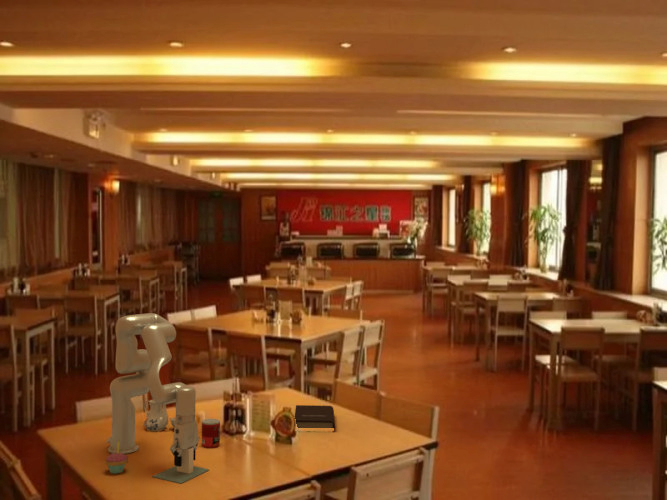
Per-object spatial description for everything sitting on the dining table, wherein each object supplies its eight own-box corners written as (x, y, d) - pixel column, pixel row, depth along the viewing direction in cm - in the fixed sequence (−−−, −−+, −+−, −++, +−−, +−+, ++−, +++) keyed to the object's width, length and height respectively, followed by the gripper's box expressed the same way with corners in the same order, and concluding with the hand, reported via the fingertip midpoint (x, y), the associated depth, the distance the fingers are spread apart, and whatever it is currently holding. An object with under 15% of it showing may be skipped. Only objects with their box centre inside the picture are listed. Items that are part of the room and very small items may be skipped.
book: (334, 433, 335) (335, 420, 335) (293, 432, 334) (294, 420, 334) (333, 417, 363) (333, 405, 363) (295, 416, 362) (296, 405, 362)
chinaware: (194, 432, 336) (197, 397, 337) (168, 437, 322) (171, 400, 323) (153, 422, 351) (156, 388, 352) (126, 426, 337) (130, 391, 338)
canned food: (216, 449, 306) (216, 423, 306) (198, 447, 308) (199, 422, 308) (222, 443, 314) (222, 419, 314) (205, 442, 316) (205, 417, 315)
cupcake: (108, 467, 280) (108, 438, 280) (130, 467, 281) (130, 437, 280) (103, 475, 272) (103, 444, 271) (125, 475, 272) (125, 444, 272)
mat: (152, 477, 271) (152, 476, 271) (181, 464, 286) (181, 463, 286) (181, 483, 265) (181, 482, 264) (209, 470, 280) (209, 469, 280)
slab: (176, 470, 277) (177, 445, 277) (181, 469, 279) (181, 444, 279) (188, 473, 274) (189, 448, 274) (193, 471, 277) (193, 446, 276)
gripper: (178, 425, 267) (177, 471, 267) (207, 414, 282) (206, 458, 283) (162, 422, 270) (162, 467, 271) (192, 412, 286) (191, 455, 286)
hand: (184, 462), depth 277 cm, fingers open, 7 cm apart
